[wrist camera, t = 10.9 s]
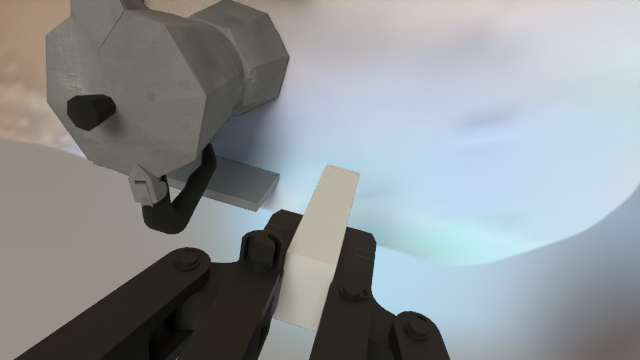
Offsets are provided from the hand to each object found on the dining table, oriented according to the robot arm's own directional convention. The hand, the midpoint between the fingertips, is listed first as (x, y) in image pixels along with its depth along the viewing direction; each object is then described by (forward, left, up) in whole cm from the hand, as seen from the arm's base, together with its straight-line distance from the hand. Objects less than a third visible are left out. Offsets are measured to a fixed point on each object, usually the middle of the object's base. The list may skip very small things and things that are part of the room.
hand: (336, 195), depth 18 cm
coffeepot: (-12, 0, -17) cm, 21 cm away
